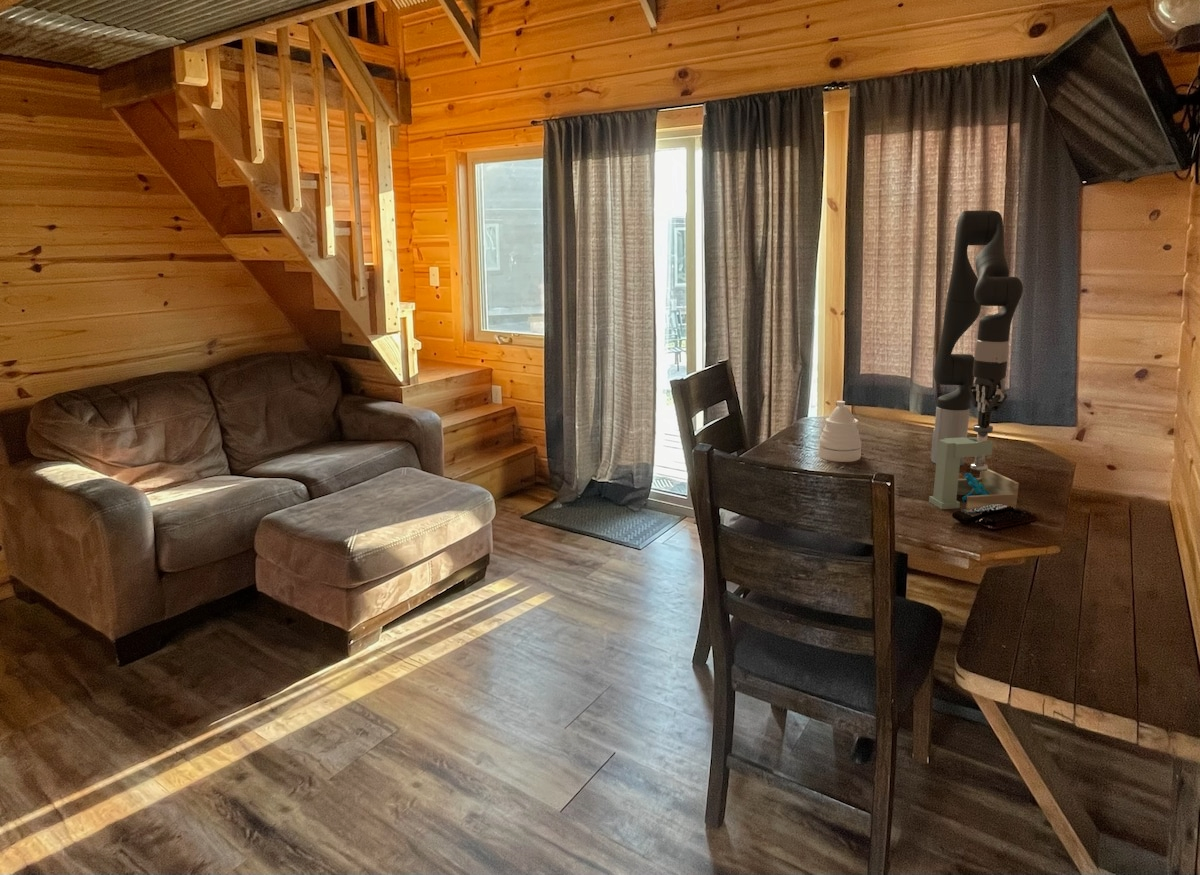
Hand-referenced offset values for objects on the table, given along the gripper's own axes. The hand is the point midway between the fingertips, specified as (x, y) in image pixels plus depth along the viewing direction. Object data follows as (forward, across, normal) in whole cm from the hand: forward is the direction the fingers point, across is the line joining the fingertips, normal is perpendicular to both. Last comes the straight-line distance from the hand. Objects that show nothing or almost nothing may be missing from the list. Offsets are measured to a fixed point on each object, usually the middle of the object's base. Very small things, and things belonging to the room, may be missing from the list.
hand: (983, 426), depth 203 cm
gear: (+21, -1, +1) cm, 21 cm away
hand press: (+21, 0, -5) cm, 21 cm away
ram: (+11, 0, 0) cm, 11 cm away
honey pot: (+21, -49, -15) cm, 55 cm away
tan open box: (+20, 0, -1) cm, 21 cm away
